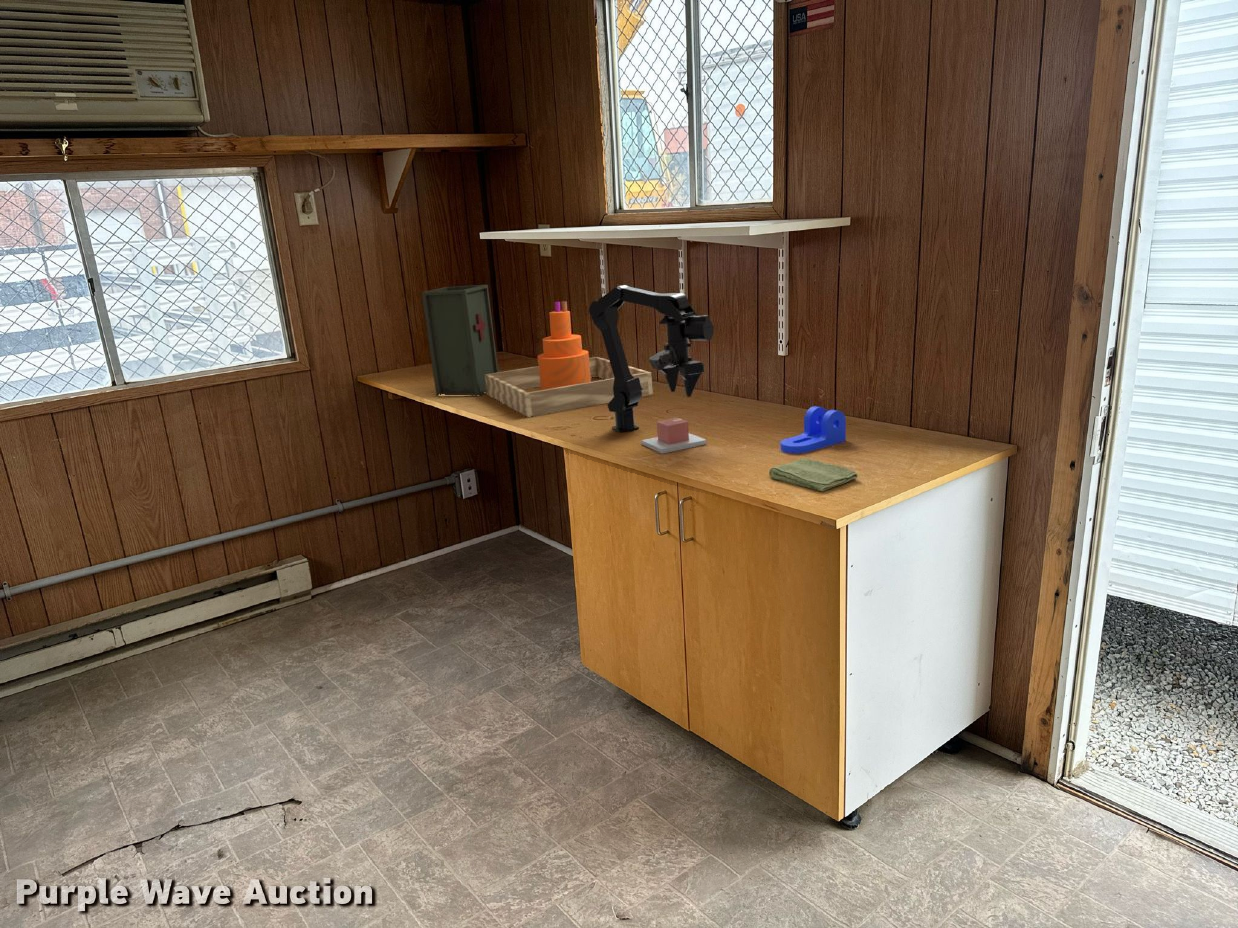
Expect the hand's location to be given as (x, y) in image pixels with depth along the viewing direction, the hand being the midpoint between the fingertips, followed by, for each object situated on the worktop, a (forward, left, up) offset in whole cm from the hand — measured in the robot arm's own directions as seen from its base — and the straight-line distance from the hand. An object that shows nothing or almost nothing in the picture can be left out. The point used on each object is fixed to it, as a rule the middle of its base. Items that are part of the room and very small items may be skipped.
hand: (680, 394), depth 239 cm
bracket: (+32, +20, -12) cm, 40 cm away
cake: (-78, -5, -12) cm, 79 cm away
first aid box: (-115, -32, -12) cm, 120 cm away
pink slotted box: (+7, -7, -11) cm, 15 cm away
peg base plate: (+7, -7, -12) cm, 16 cm away
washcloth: (+55, +4, -13) cm, 56 cm away
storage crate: (-78, -5, -12) cm, 79 cm away
